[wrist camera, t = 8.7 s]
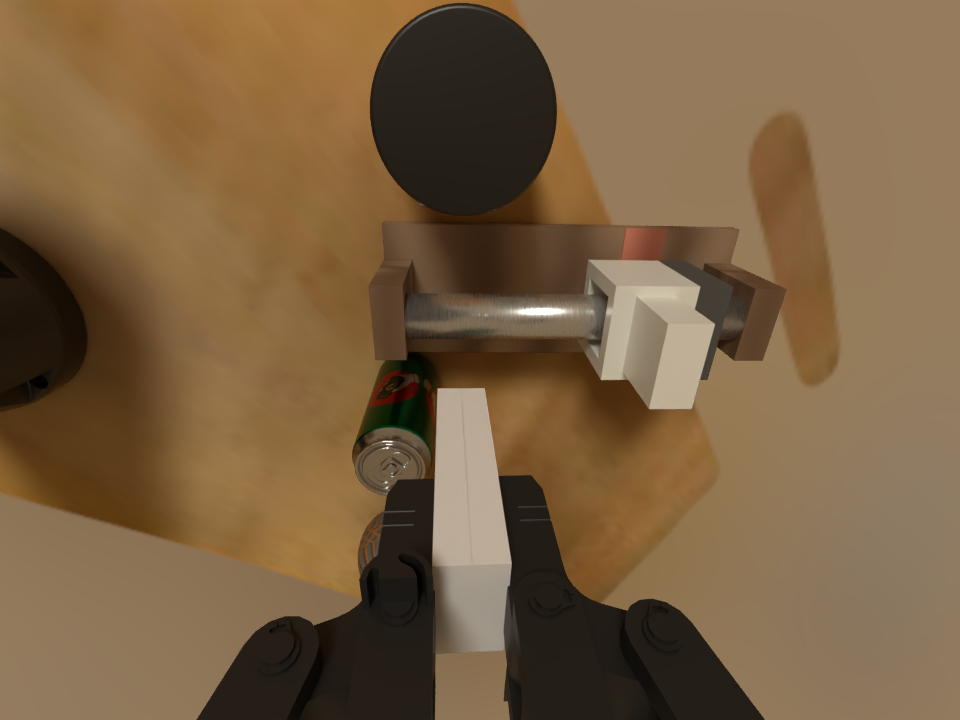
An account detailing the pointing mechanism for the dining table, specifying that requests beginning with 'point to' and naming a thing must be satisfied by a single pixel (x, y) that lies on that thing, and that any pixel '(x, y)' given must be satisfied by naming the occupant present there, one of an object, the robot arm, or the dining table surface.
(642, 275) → the sleeve
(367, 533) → the vase
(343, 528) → the dining table surface
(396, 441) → the soda can
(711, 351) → the dark grey square collar
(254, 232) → the dining table surface
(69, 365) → the robot arm
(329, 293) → the dining table surface
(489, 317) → the pipe
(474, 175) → the jar
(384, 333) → the stand
